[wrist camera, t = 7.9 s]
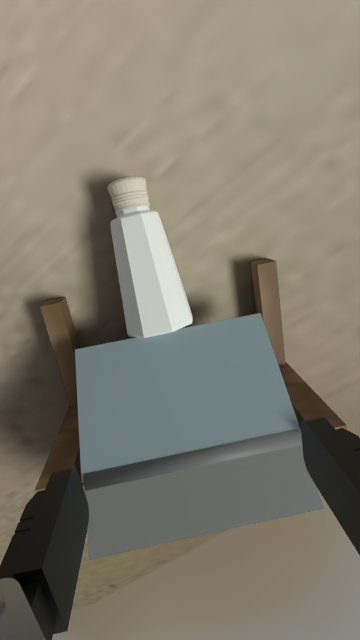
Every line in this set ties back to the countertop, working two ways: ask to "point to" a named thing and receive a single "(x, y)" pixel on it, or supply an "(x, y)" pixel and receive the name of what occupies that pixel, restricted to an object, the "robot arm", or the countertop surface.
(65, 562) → the robot arm
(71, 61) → the countertop surface
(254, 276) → the wooden frame stand
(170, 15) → the countertop surface
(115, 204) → the pepper shaker
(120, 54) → the countertop surface
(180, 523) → the trapdoor
